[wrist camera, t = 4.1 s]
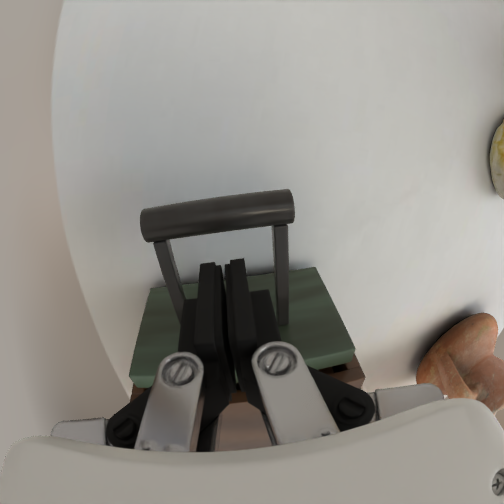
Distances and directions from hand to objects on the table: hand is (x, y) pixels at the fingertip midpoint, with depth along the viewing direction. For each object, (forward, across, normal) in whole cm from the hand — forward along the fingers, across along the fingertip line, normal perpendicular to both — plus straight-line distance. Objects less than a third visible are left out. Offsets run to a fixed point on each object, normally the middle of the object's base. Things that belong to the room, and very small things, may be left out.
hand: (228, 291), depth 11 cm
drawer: (+6, 0, +7) cm, 9 cm away
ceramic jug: (+8, -28, +21) cm, 36 cm away
